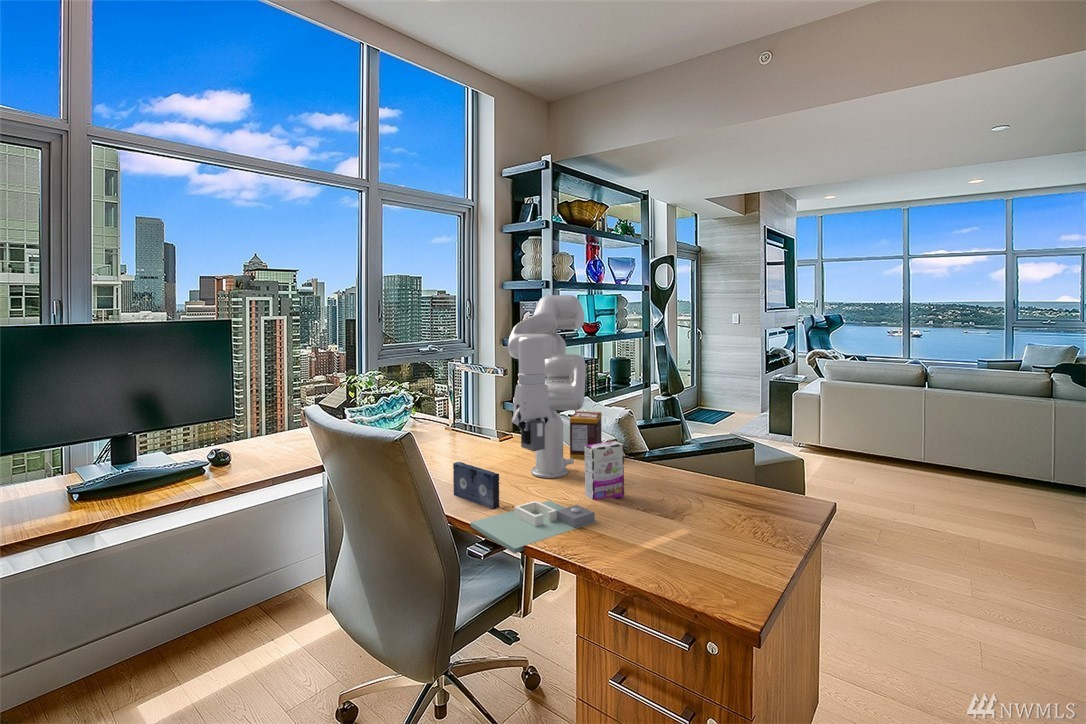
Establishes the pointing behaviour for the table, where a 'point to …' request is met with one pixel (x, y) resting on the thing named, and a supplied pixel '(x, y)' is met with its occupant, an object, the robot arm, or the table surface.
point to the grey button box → (575, 516)
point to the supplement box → (584, 432)
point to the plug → (535, 436)
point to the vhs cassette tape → (476, 485)
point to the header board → (523, 525)
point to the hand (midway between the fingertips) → (532, 441)
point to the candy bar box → (604, 470)
